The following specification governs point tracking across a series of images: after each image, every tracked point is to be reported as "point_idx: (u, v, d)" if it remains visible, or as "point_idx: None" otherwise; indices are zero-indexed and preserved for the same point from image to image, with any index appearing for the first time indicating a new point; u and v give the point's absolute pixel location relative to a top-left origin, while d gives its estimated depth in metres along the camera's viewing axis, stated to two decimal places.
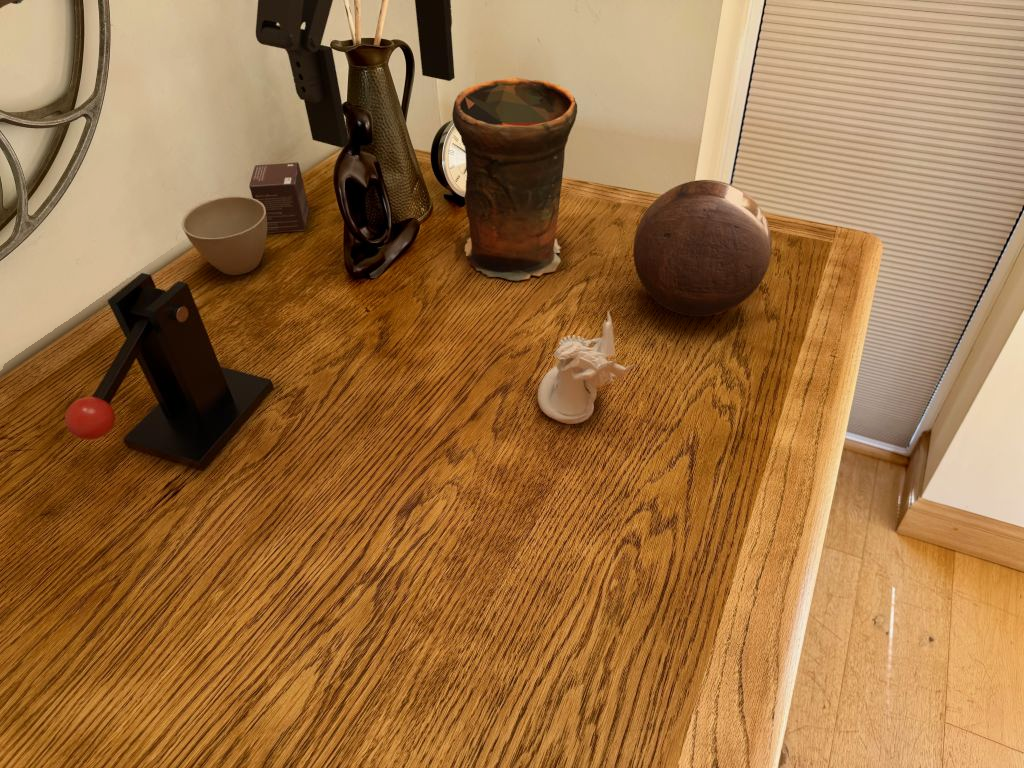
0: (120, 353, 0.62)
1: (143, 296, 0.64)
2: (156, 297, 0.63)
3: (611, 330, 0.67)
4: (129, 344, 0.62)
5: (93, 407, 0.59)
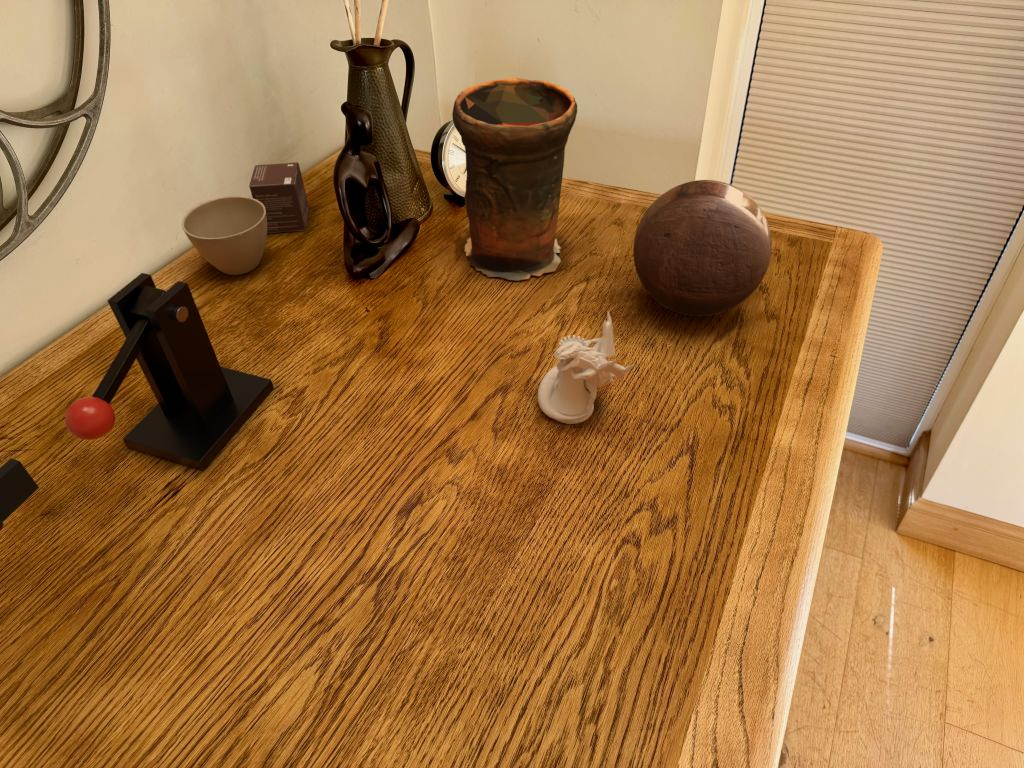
0: (120, 353, 0.62)
1: (143, 296, 0.64)
2: (156, 297, 0.63)
3: (611, 330, 0.67)
4: (129, 344, 0.62)
5: (93, 407, 0.59)
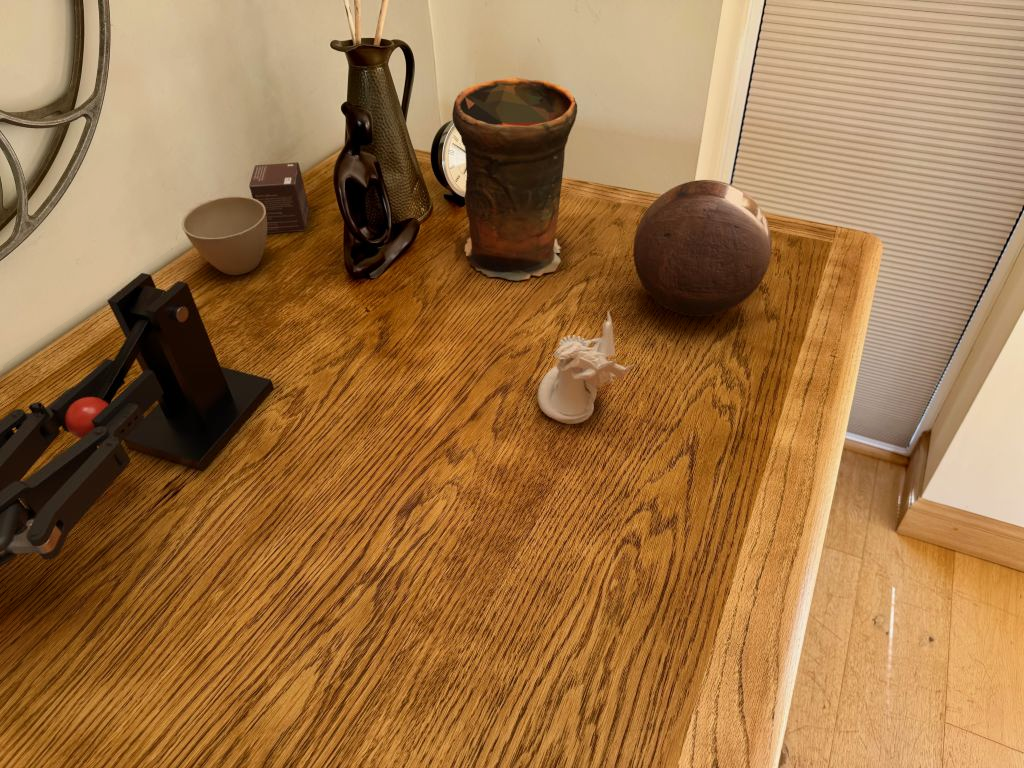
0: (120, 353, 0.62)
1: (143, 296, 0.64)
2: (156, 297, 0.63)
3: (611, 330, 0.67)
4: (129, 344, 0.62)
5: (93, 407, 0.59)
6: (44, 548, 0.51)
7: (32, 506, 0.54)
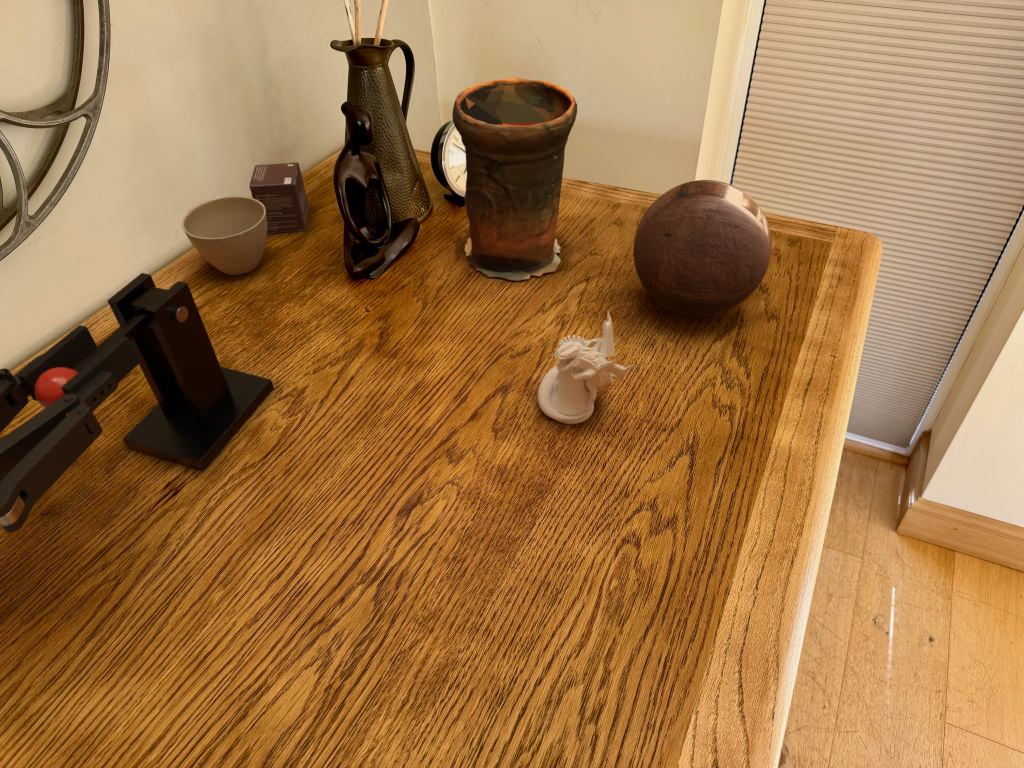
0: (110, 337, 0.61)
1: (147, 293, 0.64)
2: (160, 295, 0.64)
3: (611, 330, 0.67)
4: (121, 331, 0.61)
5: (70, 374, 0.56)
6: (6, 520, 0.48)
7: None
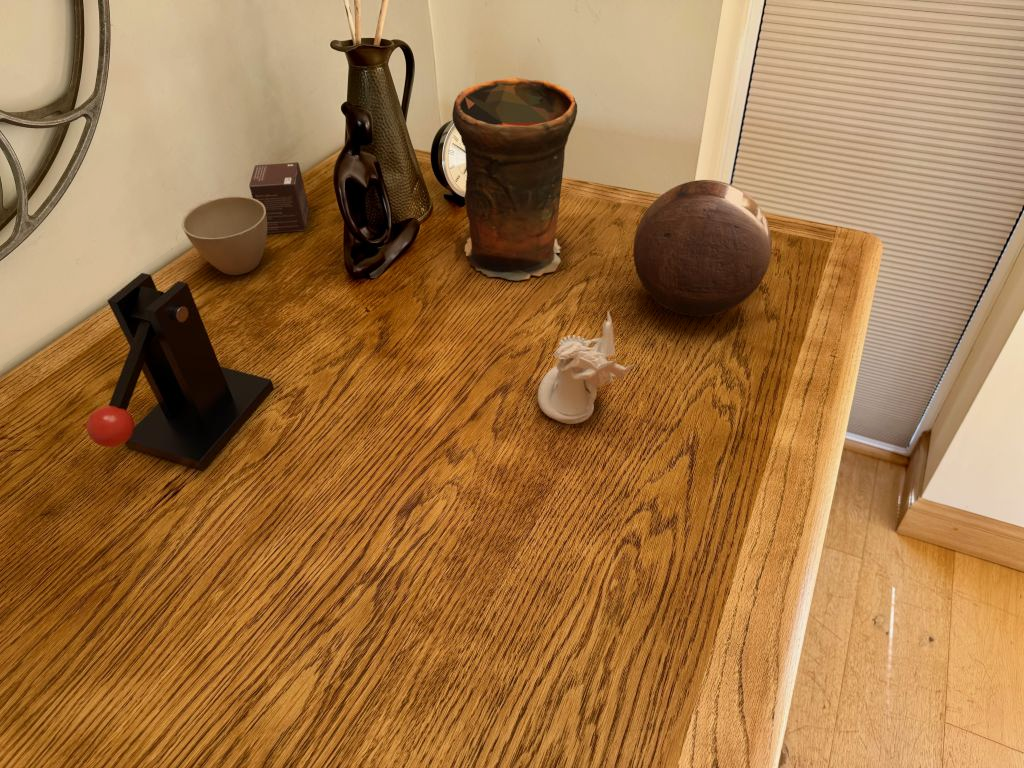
0: (128, 359, 0.63)
1: (141, 298, 0.64)
2: (154, 299, 0.63)
3: (611, 330, 0.67)
4: (136, 349, 0.63)
5: (111, 418, 0.61)
6: None
7: None
